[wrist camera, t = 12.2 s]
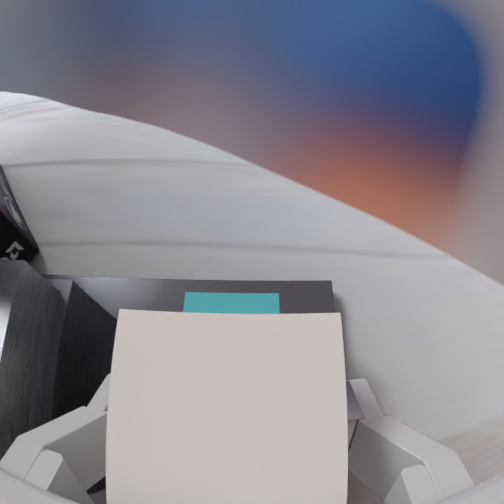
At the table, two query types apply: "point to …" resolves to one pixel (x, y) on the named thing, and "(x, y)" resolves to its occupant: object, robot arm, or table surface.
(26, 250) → the graphics card box
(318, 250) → the table surface
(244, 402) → the plug
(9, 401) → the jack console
